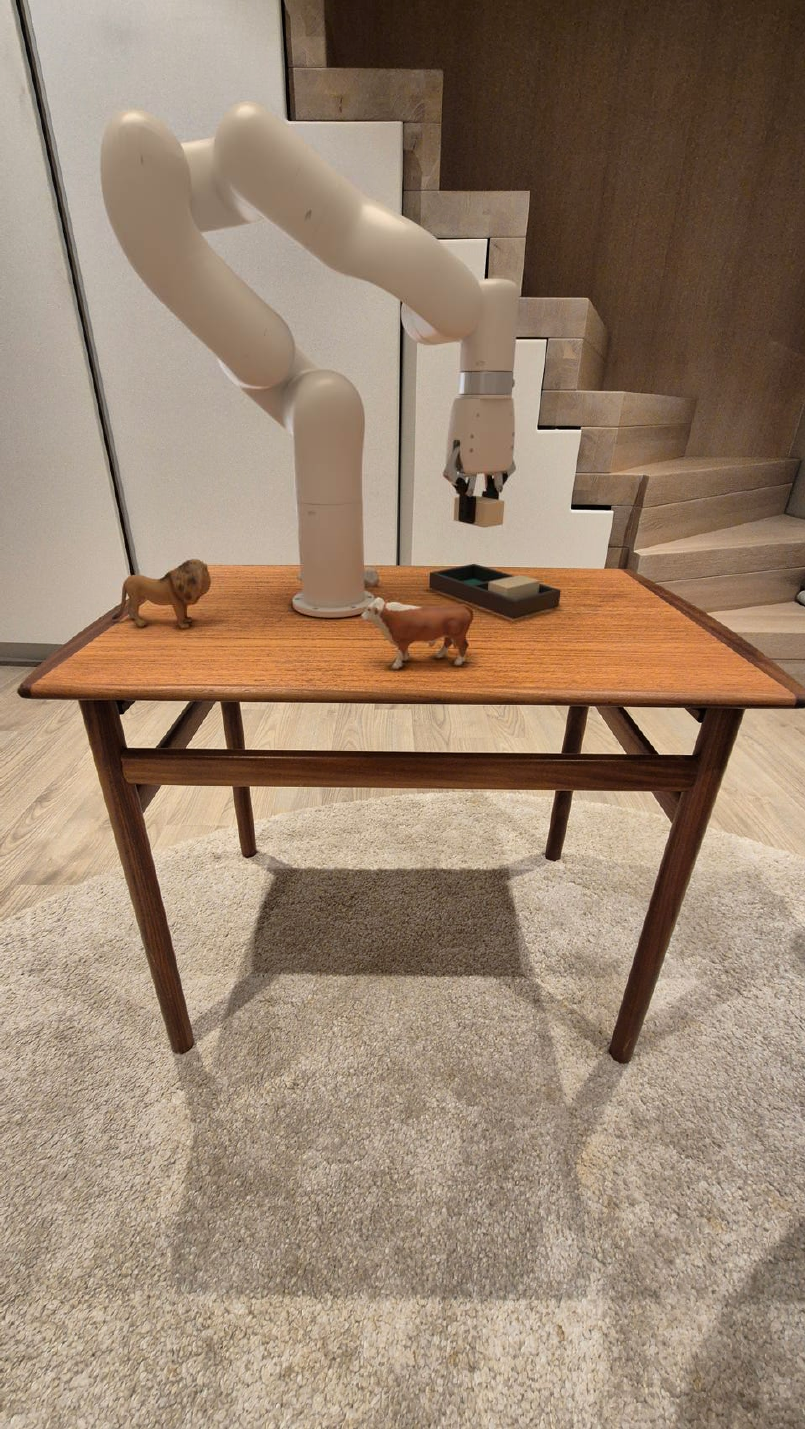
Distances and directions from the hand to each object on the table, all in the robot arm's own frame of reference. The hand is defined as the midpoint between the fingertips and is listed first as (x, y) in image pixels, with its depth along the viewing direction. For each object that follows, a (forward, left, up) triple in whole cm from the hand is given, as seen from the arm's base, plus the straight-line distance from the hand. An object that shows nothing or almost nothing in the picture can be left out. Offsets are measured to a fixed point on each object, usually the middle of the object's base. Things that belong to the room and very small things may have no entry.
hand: (477, 519), depth 93 cm
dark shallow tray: (+4, 0, -12) cm, 13 cm away
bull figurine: (+17, -25, -12) cm, 33 cm away
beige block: (+9, 0, -11) cm, 14 cm away
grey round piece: (-13, -12, -12) cm, 21 cm away
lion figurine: (-15, -45, -12) cm, 49 cm away
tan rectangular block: (0, 0, 0) cm, 0 cm away
